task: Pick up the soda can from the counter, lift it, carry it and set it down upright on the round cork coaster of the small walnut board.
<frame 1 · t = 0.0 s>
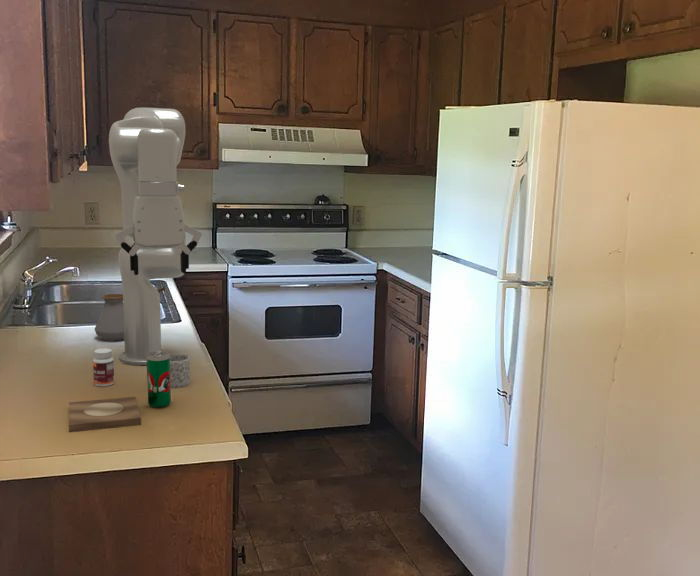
hand: (160, 273, 154), 31 cm above the worktop, tool pointing down, fingers open, 9 cm apart
mug: (169, 384, 182), on the worktop
coffee pot: (132, 337, 224), on the worktop
soda can: (159, 405, 166), on the worktop
pill bottle: (104, 384, 180), on the worktop
board: (104, 416, 159), on the worktop
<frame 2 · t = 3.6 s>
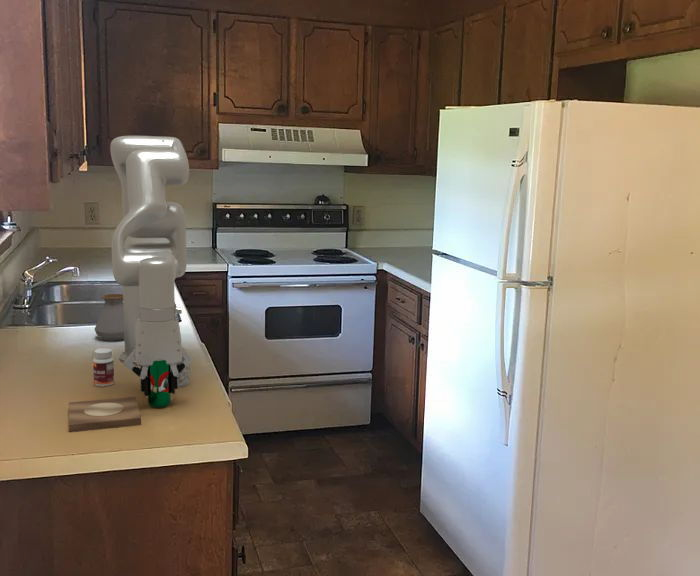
hand: (159, 392, 166), 3 cm above the worktop, tool pointing down, fingers closed on soda can, 5 cm apart
soda can: (159, 405, 166), on the worktop, touching gripper
everything else where it was.
when the fingers open (6 cm above the worktop, at t = 9.4 s): soda can drops 1 cm, resting on board.
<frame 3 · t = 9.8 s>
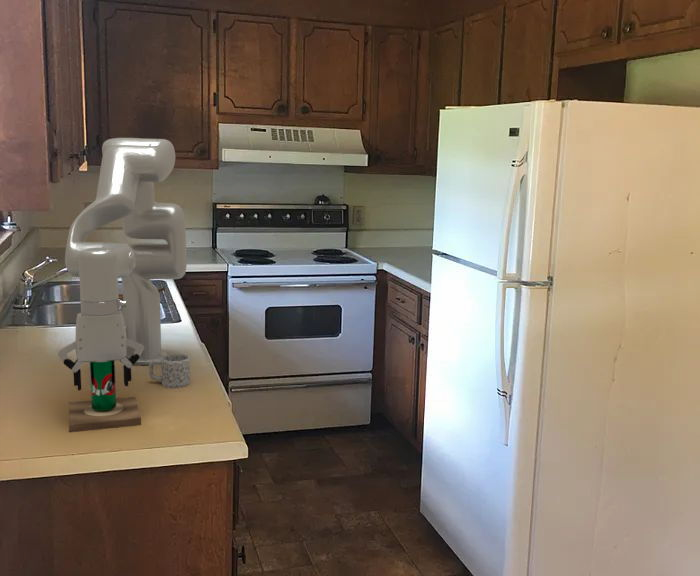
hand: (103, 386, 157), 7 cm above the worktop, tool pointing down, fingers open, 9 cm apart
soda can: (104, 409, 158), point 2 cm above the worktop, touching board
everything else where it was.
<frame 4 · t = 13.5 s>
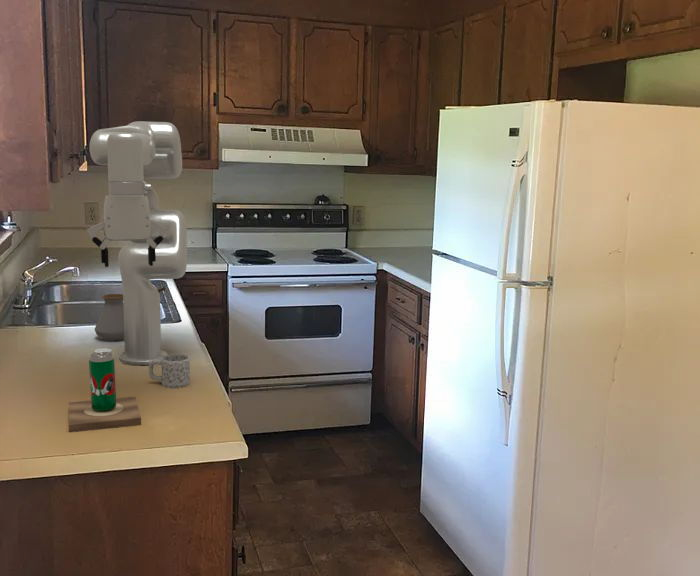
hand: (128, 265, 168), 30 cm above the worktop, tool pointing down, fingers open, 9 cm apart
nothing on the worktop moved.
at the end: soda can inside the target area on the board (0.1 cm from its centre), point 1.5 cm above the board's base; soda can tilted 1°; the gripper is holding nothing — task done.
